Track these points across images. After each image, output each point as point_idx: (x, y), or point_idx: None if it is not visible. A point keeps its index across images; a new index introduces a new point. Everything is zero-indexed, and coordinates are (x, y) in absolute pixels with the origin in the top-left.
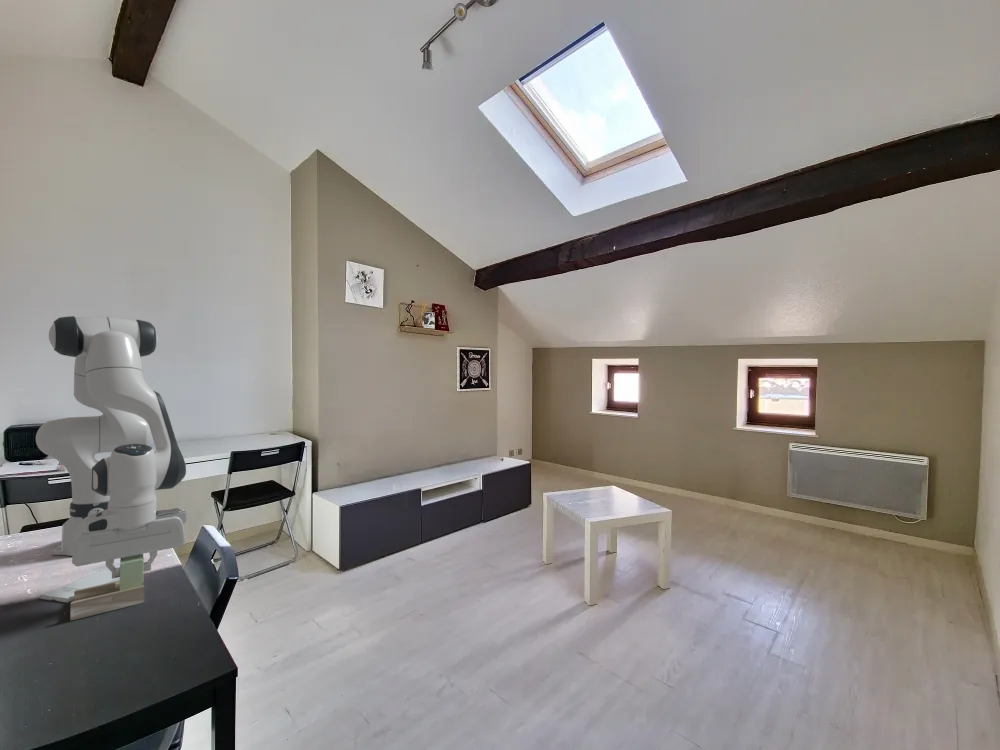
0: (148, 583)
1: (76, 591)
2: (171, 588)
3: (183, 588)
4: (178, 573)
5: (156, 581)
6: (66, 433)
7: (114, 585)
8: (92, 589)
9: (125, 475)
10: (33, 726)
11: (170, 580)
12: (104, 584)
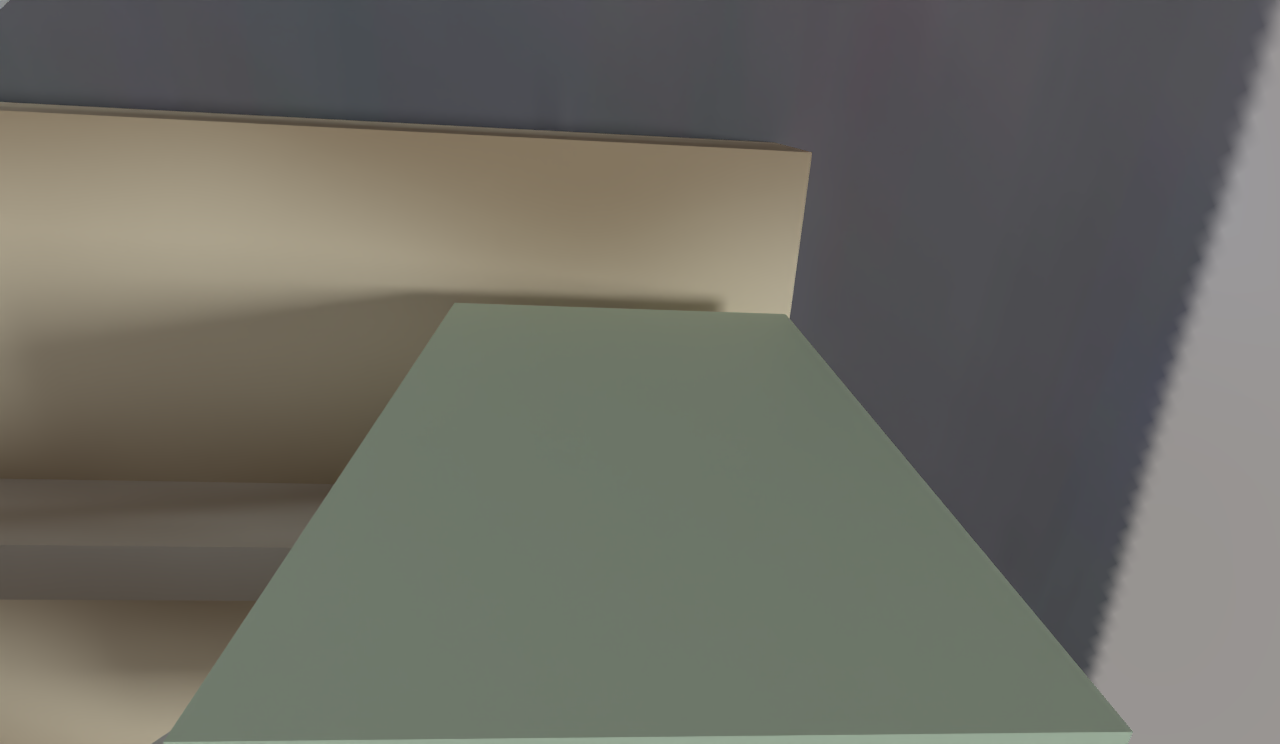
0: (831, 192)
1: None
2: (989, 556)
3: (1072, 630)
4: (1254, 63)
5: (930, 190)
6: None
7: None
8: (80, 593)
9: None
10: None
11: (1070, 290)
12: (216, 155)
